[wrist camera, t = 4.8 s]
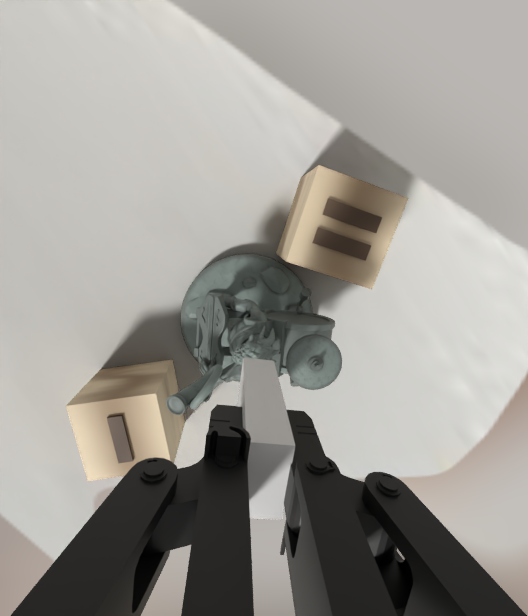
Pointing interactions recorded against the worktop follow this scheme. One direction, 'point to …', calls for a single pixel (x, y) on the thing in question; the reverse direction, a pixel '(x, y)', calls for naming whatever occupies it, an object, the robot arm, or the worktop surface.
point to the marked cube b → (340, 226)
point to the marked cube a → (126, 418)
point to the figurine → (253, 327)
